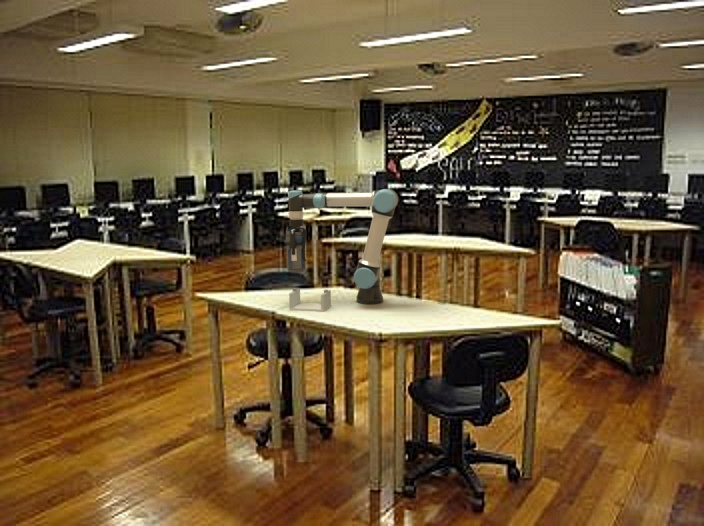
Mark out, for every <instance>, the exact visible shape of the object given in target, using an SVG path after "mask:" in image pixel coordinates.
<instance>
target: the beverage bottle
mask: <svg viewBox="0 0 704 526" xmlns="http://www.w3.org/2000/svg"><path fill="white" fill-rule="evenodd" d="M285 229H286V230H285V241H286V243H287V244H286V246H285V247H286V264H287V265H286V267H287V268H286V269H287V271H288V272H289V273H303V272H305V271H306V269H307V268H306V265H307V263H306V262H307V259H306V246H307V245H306V244H307V237H308V236H307V231H308V230H307V229H306V228H305V227H300V228H299V229H297V230H300V231H299V232H296V233H295V241H296V242H297V243H296V250H297V261H292V255H291V249H290V248H289V247H290V230H291V226H290V225H287V226H286V228H285Z"/></svg>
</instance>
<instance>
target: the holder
mask: <svg viewBox="0 0 704 526" xmlns="http://www.w3.org/2000/svg"><path fill="white" fill-rule="evenodd" d="M331 291H332V290H331V289H323V293H322V294H320V300H321V301H320V303H313V302H312V303H310V302H308V303H307V302H301V288H295V287H294V288H292V291H291V292H289V293H288V296H289V297H288V298H289V301H288V303H289V311H304V312H305V311H306V312H322V313H323V312H326V311H327V310H328V309H329V308H331V306H332V300H331V298H332V292H331Z"/></svg>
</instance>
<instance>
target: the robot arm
mask: <svg viewBox="0 0 704 526" xmlns="http://www.w3.org/2000/svg"><path fill="white" fill-rule="evenodd" d="M398 204H399V196H398V194H397V192H396V191H395V190H393V189H391V188H383V189H380V190H373V191H371V192H317V193H316V192H315V193H303V190H289V191H288V216H289V225H288V226H290V227H292V229H290V247H289V248H290V249H291V255H292V261H297V250H296V243H297V242H296V241H295V233H296V232H299V231H300V230H297V229H299V228H301V227H303V226H304V212H303V211H304V209H319V208H320V209H321V208H324V207H372V208H371V212H370V213H371V214H372V219H371V223H370V227H369V231H368V235H367V239H366V242H365V246H364V251H363V254H362V257H361V259H359V260H358V262H357V266H356V271H354V273H353V282H354V283H355V285H356V286H357V287H358V288H359V289H358V291H357V295H356V298H355V299H356V300H355V301H356V303H359V304H362V305H364V304H365V305H375V304H376V305H377V304H381V303H383V302H384V296H383V293H382V290H381V263H380V262H379V258H380V255H381V251H382V247H383V244H384V239H385V236H386V232H387V228H388V224H389V221H390V219H392V218H393V216H394V213H395V209H396V207H397V206H398Z"/></svg>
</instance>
